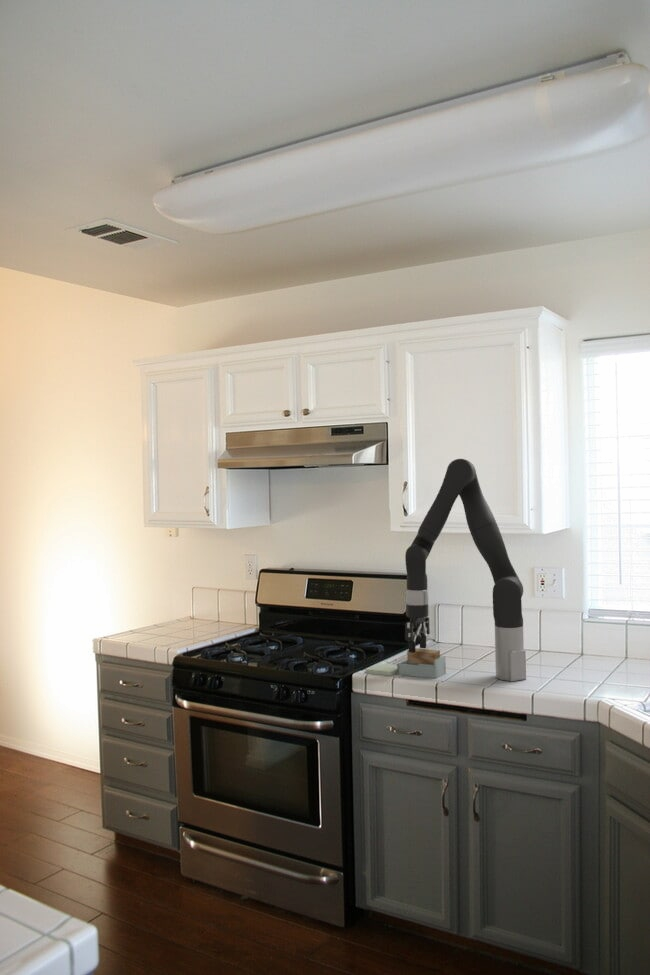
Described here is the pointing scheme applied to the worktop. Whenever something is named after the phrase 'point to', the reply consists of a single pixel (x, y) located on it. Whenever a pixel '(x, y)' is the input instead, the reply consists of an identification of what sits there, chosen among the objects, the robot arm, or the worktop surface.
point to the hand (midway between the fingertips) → (417, 650)
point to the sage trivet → (382, 669)
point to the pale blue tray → (423, 668)
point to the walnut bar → (423, 656)
